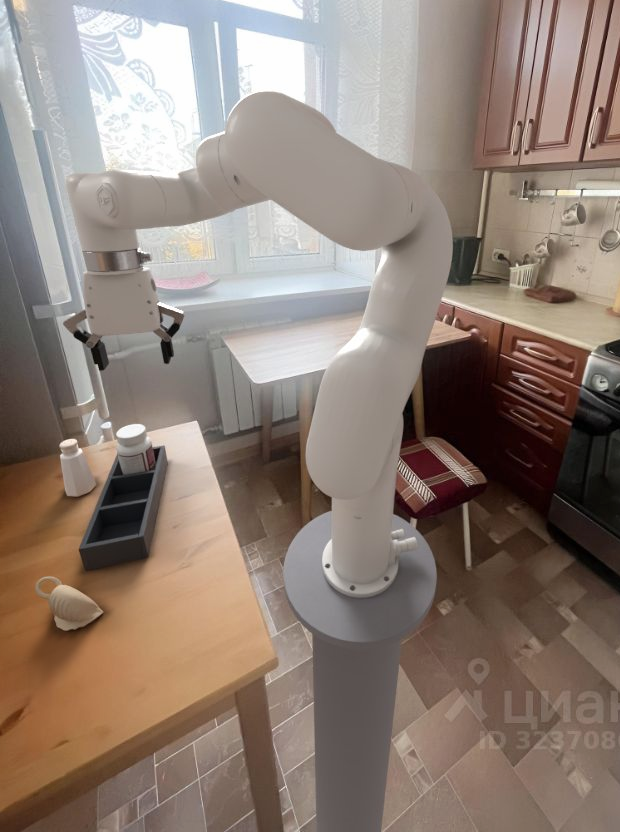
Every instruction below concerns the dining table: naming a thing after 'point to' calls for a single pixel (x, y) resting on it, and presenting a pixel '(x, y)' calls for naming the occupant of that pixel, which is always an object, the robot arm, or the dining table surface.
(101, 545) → the compartment tray
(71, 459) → the salt shaker
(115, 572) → the dining table surface
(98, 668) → the dining table surface
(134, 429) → the pill bottle
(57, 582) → the decorative ornament
